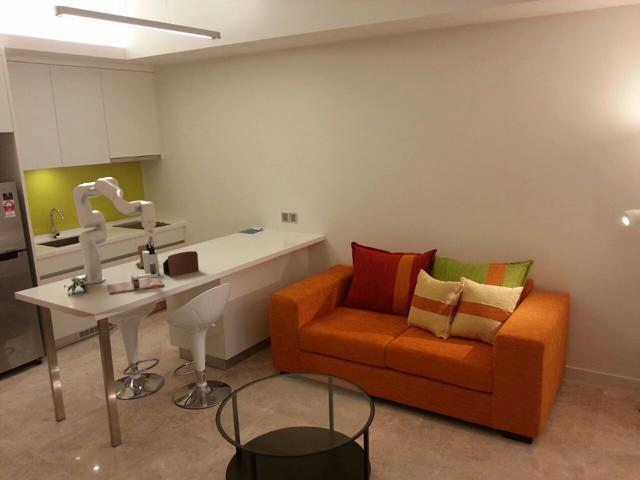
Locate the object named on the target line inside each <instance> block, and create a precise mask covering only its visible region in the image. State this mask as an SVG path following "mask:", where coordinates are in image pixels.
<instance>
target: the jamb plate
mask: <svg viewBox="0 0 640 480" xmlns="http://www.w3.org/2000/svg"><path fill="white" fill-rule="evenodd" d="M134 275H136V273H131V274H130V279H131V280H130V281H123V282H119V283H118V282H117V283H110V284H106V287H107V291H108V293H109V295H110V296H111V295H117V294H123V293H130V292H137V291H138V292H139V291H144V290H150V289H151V288H152V289H157V287H159V288H165V283H164V282H163V281H162V280H161V278H160V277H151V278H144V279H138V280H132V276H134ZM152 289H151V290H152Z"/></svg>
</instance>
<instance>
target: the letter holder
mask: <svg viewBox="0 0 640 480" xmlns="http://www.w3.org/2000/svg"><path fill="white" fill-rule="evenodd" d="M162 268H163V269H162V271H163V275H165V276H168V277H170V278H171V277H175V276H180V275H186V274H192V273H197V272H199V271H200V266H199V256H198V251H195V250H193V251H184V252H183V251H182V252H177V253H174V254H170V255H168V256H167V258H166V259H165V261H163V262H162Z"/></svg>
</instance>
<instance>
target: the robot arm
mask: <svg viewBox="0 0 640 480" xmlns="http://www.w3.org/2000/svg"><path fill="white" fill-rule="evenodd" d="M102 196H104V197H105V198H107V199H109V200H110V201H111V202H112V204H113V206H114V208H115V209H116V210H117V211H118V212H120V213H122V214H123V215H126V216H130V217H131V216H135V215H140V217H141V218H140V219H141V227H142V228H143V230H144V240H145V244H146V249H147V251H149V255H154V254H155V250H156V249H155V244H156V243H157V238H156V230H155V227H156V211H155V210H156V209H155V208H156V207H155V203H154V202H153V201H144V200H140V199H139V200H134V201H130V202H128V201H127V200H126V199H123V197H124V191H123V189H122V188H120V186H119V182H118V180H117V179H115V178H114V177H111V176H110V177H104V178H98V179H96V180H95V181H94V182H87V183H83V184H79V185H77V186H76V187H75V188H74V189H73V191H72V198H73V201H74V204H75V208H76V216H77V220H78V224H79V227H80V228H82V229H88V230H84V231H82V232H80V234H79V236H78V242H79V245H80V249H81V252H82V259H83V267H84V275H81V276H77V277H76V278H77V279H79V280H80V281H82V280H83V279H82V278H81V277H83V278H85V279H86V280H87V281H85V280H83V282H84V283H85V284H87V285H89V284H90V285H92V284H93V285H94V284H100V283H103V282H104V281H106V277H105V276H103V271H102V264H101V263H102V262H101V254H100V253H101V252H100V251H99V250H100V249H99V248H98V247H97V245H99V244H103V243H105V242H106V241H107V239H108V231H107V223H106V219H105V216H104V214H103V212H101V211H100V210H93V207H92V204H91V202H90V201H89V199H90V198H96V197H102ZM90 228H91V229H90Z"/></svg>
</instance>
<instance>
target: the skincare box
mask: <svg viewBox="0 0 640 480" xmlns="http://www.w3.org/2000/svg"><path fill="white" fill-rule="evenodd" d="M142 255H143V263H144V267H143V270H144V274H150V273H151V272H150V263H155V264H156V273H157V274H160V269H159V260H158V258H159V257H158V252H157V250H156V249H155V254H154V255H149V251H142Z"/></svg>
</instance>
